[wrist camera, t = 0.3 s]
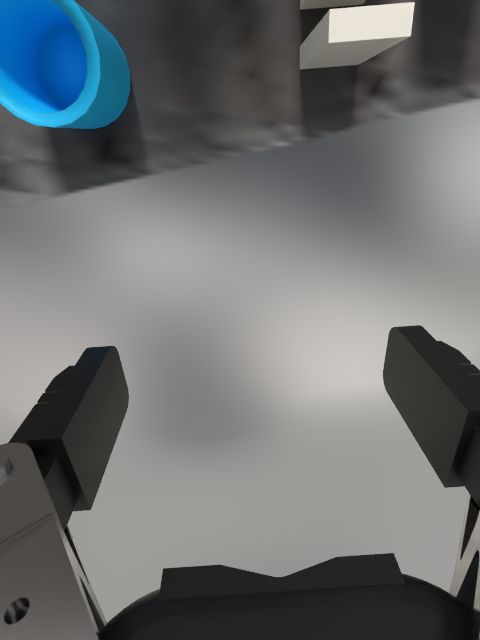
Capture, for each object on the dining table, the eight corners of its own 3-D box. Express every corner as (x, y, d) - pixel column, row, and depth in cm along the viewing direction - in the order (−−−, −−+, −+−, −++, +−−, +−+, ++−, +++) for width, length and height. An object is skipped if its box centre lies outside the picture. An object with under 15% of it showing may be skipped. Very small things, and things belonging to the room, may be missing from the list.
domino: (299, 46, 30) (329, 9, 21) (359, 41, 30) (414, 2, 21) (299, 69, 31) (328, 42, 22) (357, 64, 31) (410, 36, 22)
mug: (138, 126, 32) (112, 124, 25) (48, 131, 32) (-5, 130, 25) (110, -55, 27) (66, -125, 20) (1, -50, 27) (-83, -118, 20)
